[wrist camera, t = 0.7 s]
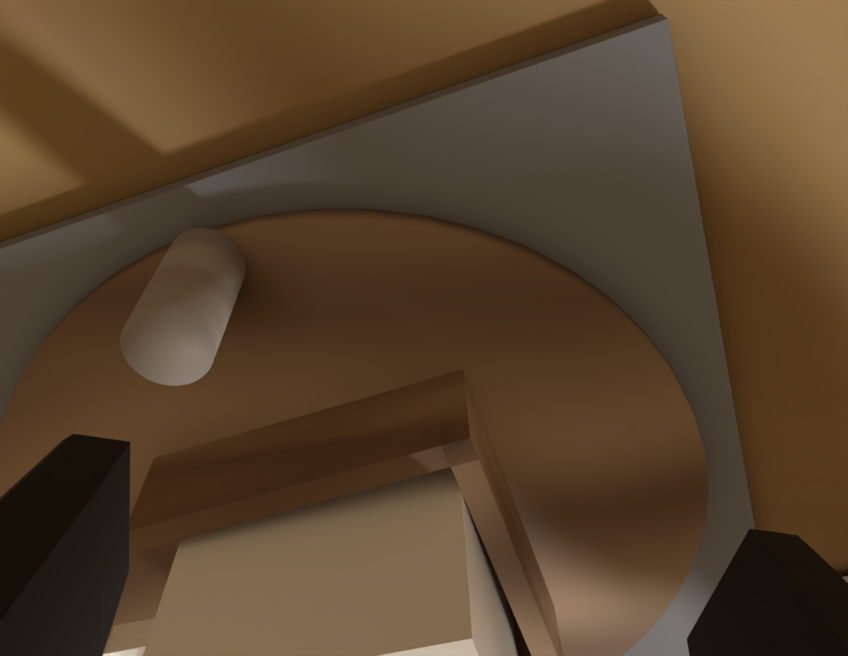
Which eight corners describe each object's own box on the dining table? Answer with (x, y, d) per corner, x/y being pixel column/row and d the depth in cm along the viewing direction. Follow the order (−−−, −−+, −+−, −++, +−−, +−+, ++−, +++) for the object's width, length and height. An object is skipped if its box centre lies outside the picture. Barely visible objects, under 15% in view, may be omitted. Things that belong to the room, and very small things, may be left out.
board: (800, 809, 30) (812, 840, 29) (310, 898, 33) (307, 929, 33) (660, 13, 15) (676, 25, 14) (-206, 313, 18) (-240, 339, 17)
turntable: (742, 652, 24) (792, 777, 21) (207, 767, 27) (180, 893, 24) (622, 74, 15) (679, 138, 12) (-164, 338, 18) (-289, 448, 15)
